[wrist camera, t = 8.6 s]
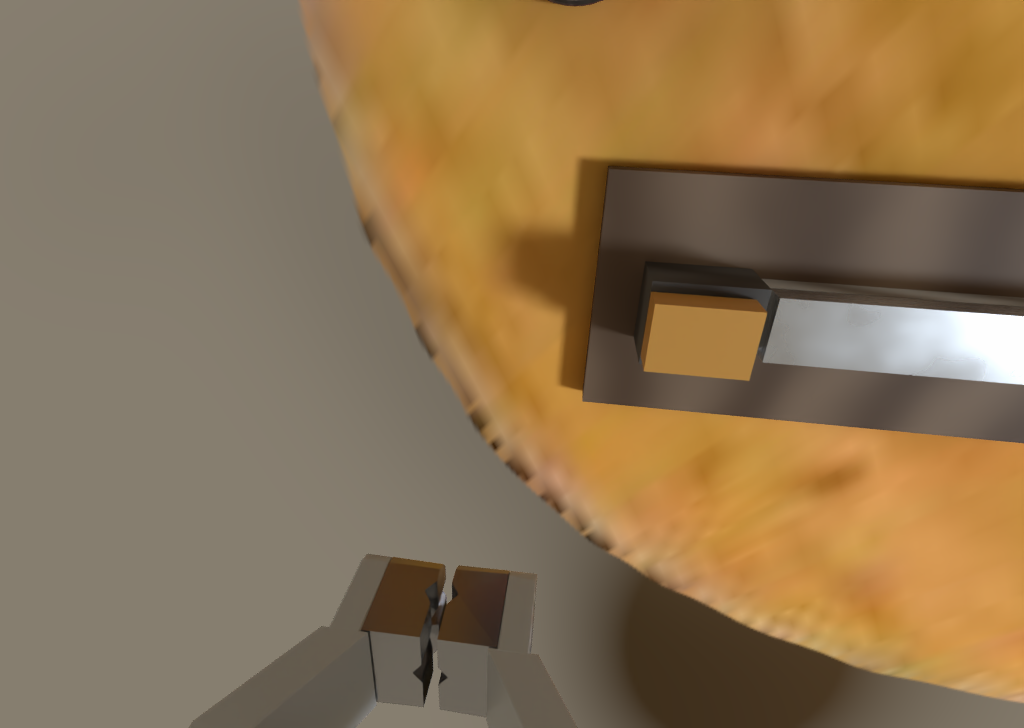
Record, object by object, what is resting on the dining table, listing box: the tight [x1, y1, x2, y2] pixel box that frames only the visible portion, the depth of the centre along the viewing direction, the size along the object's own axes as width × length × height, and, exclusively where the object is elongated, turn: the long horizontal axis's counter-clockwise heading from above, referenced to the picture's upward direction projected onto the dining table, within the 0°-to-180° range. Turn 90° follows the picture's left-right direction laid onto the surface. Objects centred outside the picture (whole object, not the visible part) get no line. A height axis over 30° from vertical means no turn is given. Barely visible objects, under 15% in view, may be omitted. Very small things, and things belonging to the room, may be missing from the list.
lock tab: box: [641, 292, 767, 381], centre depth 21 cm, size 4×3×1 cm
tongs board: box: [583, 166, 1024, 443], centre depth 22 cm, size 29×11×4 cm, turn 88°
